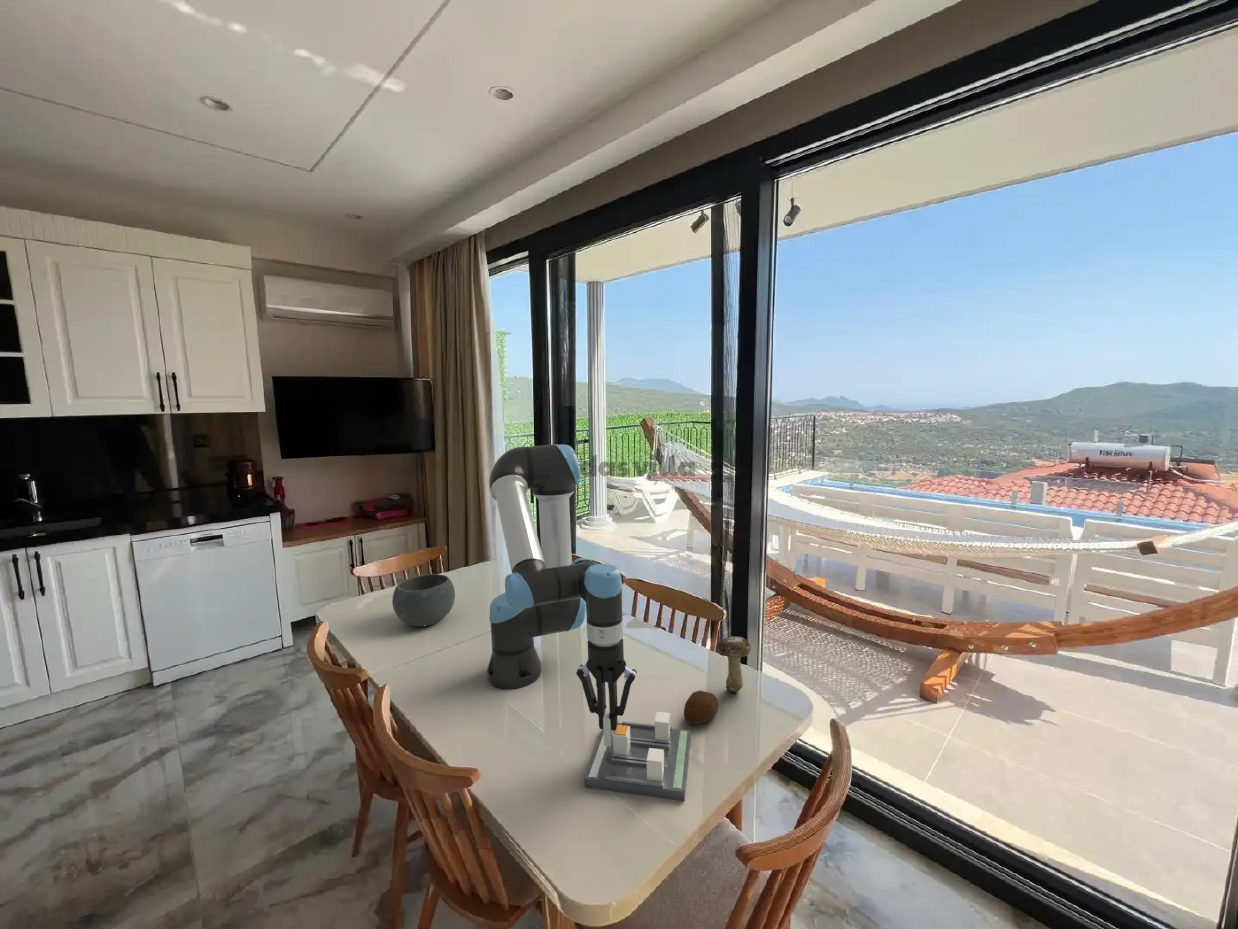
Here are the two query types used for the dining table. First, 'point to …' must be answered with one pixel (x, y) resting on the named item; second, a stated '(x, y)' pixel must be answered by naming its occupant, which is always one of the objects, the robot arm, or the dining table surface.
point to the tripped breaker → (621, 740)
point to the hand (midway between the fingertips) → (608, 742)
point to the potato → (700, 707)
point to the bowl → (423, 599)
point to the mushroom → (734, 660)
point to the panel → (641, 764)
